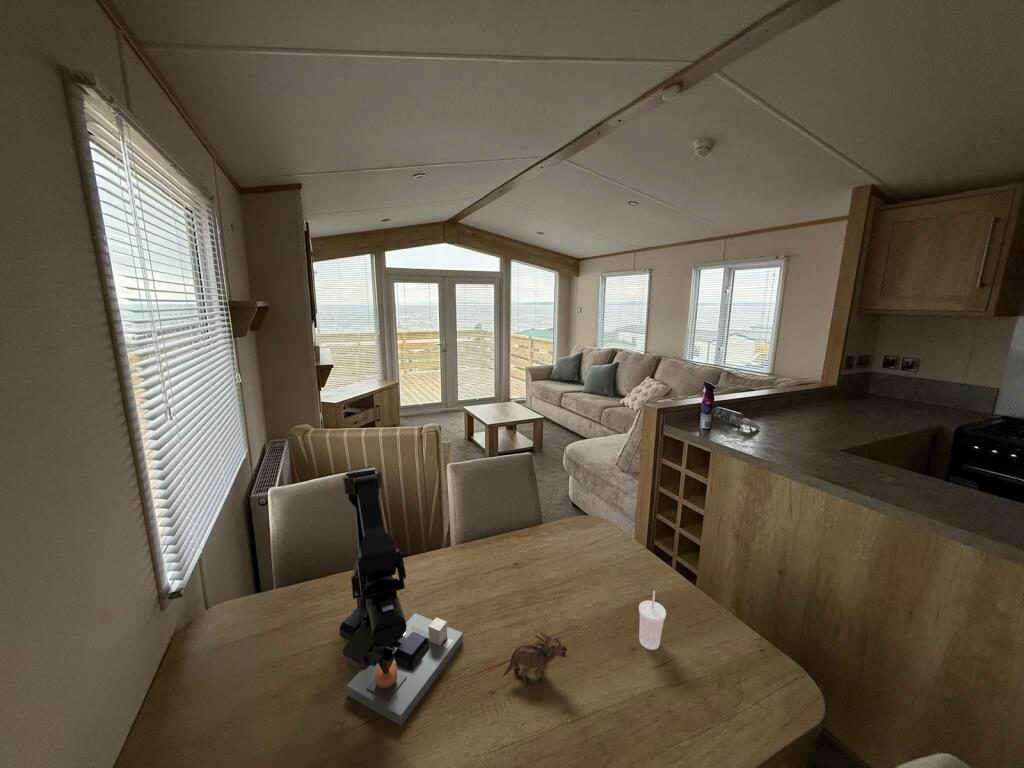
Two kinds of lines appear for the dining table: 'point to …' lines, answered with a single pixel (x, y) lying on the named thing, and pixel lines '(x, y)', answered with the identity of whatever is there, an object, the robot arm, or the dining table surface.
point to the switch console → (405, 676)
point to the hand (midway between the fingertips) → (386, 671)
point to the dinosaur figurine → (536, 656)
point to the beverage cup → (651, 623)
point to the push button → (386, 676)
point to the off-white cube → (437, 631)
